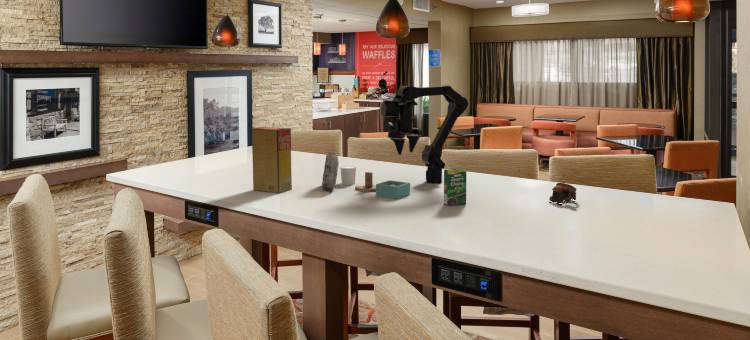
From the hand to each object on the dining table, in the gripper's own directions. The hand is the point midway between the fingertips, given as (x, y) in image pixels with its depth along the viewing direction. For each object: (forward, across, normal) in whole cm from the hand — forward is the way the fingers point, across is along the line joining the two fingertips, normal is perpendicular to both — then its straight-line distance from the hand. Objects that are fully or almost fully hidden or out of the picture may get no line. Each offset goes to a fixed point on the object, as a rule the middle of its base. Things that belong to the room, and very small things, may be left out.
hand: (405, 153), depth 243 cm
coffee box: (+13, +22, +35) cm, 43 cm away
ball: (+13, +22, +8) cm, 26 cm away
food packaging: (+13, +41, -37) cm, 57 cm away
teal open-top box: (+13, +22, +8) cm, 27 cm away
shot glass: (+13, +13, -20) cm, 28 cm away
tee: (+13, +19, -6) cm, 24 cm away
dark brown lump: (+13, -3, +66) cm, 67 cm away
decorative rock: (+13, +26, -20) cm, 35 cm away
